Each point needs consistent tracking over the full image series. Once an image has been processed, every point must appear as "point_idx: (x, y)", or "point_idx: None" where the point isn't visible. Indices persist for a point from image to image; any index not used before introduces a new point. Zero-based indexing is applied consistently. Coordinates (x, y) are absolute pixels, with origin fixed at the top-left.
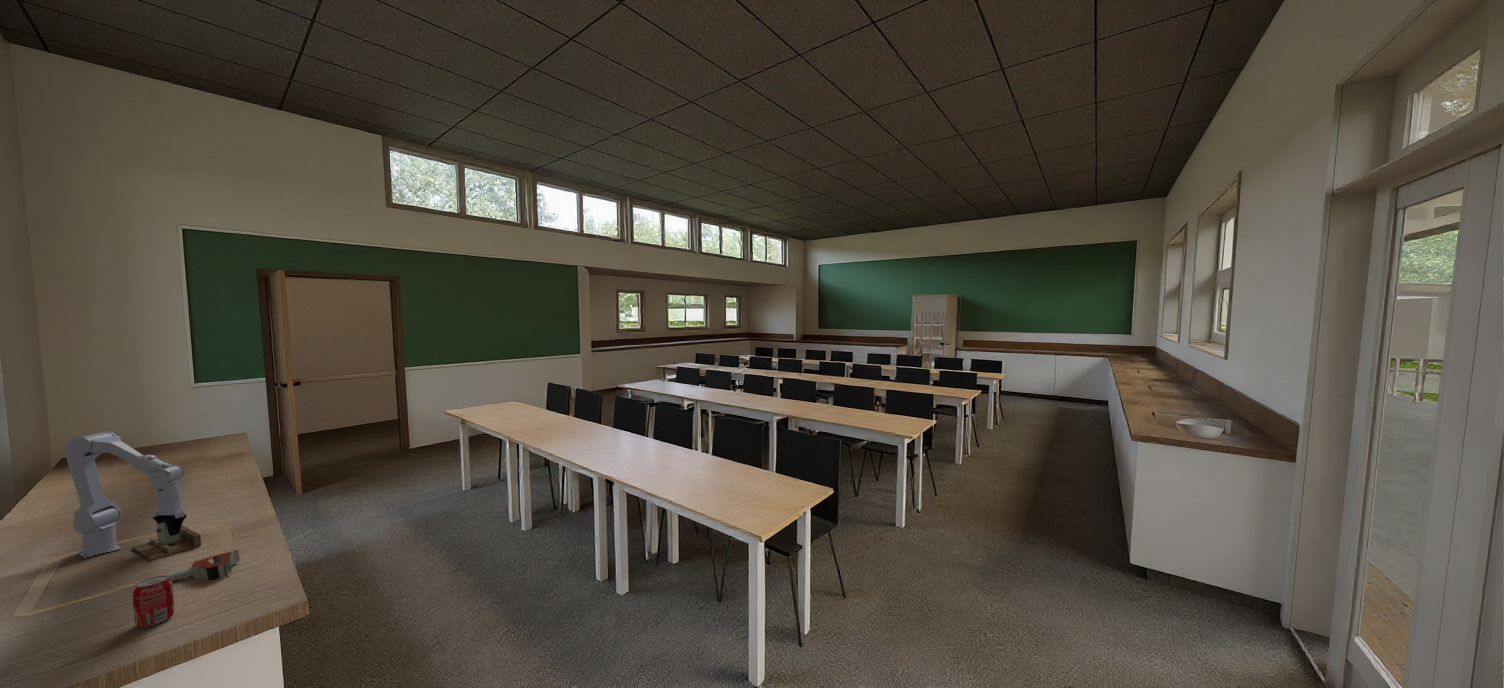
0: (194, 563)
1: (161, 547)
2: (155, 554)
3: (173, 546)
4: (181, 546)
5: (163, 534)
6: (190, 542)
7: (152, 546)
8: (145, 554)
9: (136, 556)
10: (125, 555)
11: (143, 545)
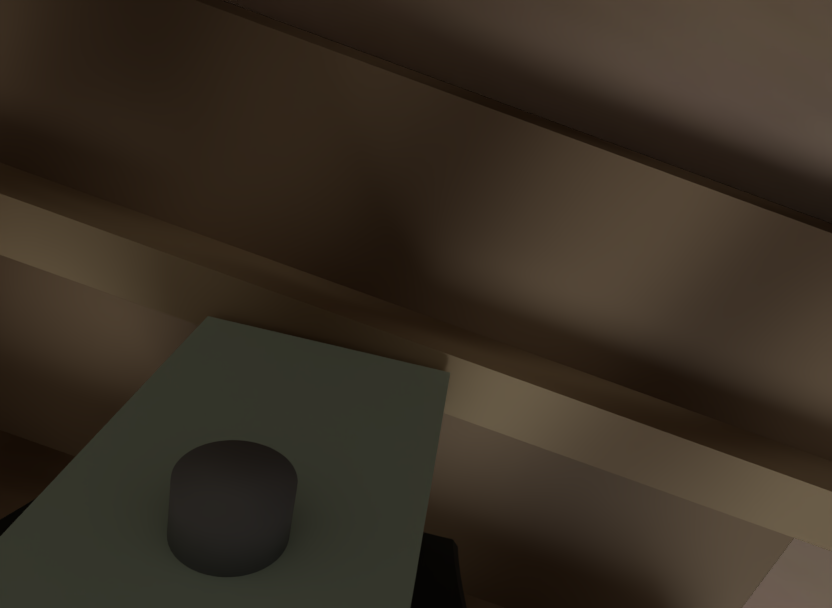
0: None
1: (226, 256)
2: (18, 37)
3: (153, 336)
4: (24, 344)
5: (120, 428)
6: (53, 456)
7: (537, 312)
8: (208, 10)
9: (453, 11)
10: (750, 17)
11: (782, 336)
